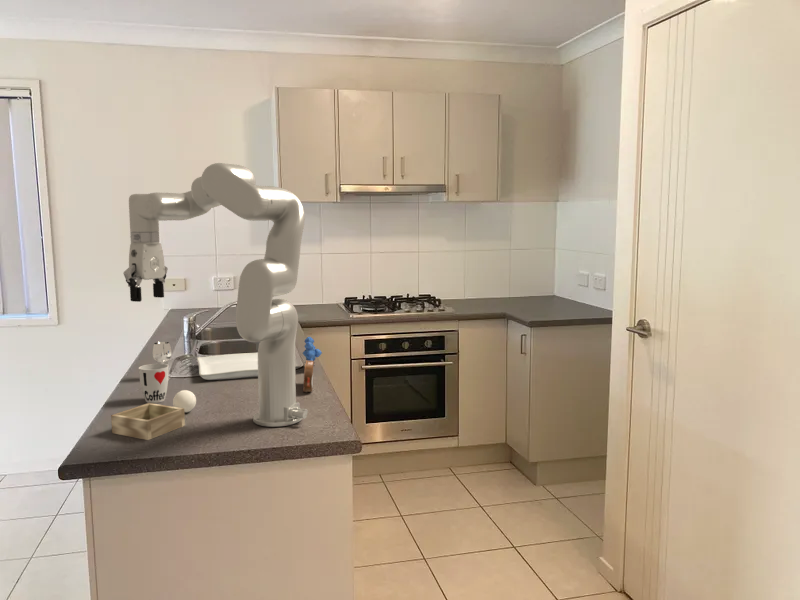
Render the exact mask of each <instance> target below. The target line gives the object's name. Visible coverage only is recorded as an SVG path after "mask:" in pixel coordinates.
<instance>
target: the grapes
mask: <svg viewBox="0 0 800 600" xmlns="http://www.w3.org/2000/svg"><path fill="white" fill-rule="evenodd" d="M304 343H305V344H304V346H303V347H304V349H305V350H304V351H303V352H302V354H303V356H304V357H305V362H304V364H305V363H306V360H308V361H314V367H315V363H316V362H315V360H316V358H319V357H321V355H322V354H323V352H322V351H321V349H319V348H316V346H315V345H314V343H315V340H314V338H312V336H308V337H306V338H305V339H304Z"/></svg>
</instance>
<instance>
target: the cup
mask: <svg viewBox="0 0 800 600" xmlns="http://www.w3.org/2000/svg"><path fill="white" fill-rule="evenodd" d="M169 367H170V365H169V364H167V363H164V364H162V363H152V364H151V363H150V364H143V365H141V366H139V367H138V376H139V383H140V389H141V392H142V395H143V397H144V400H145V402H146V404H147V403H153V404H157V403H161V402H164V401H165V400H166V397H167V391H168V385H169V380H168V377H169V373H170V372H169Z"/></svg>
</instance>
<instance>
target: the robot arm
mask: <svg viewBox="0 0 800 600" xmlns="http://www.w3.org/2000/svg"><path fill="white" fill-rule="evenodd" d="M190 186H191V190H189V191H186V192H181V193H179V192H178V193H176V192H150V193H133V194H130V195H129V197H128V209H129V211H128V212H129V215H128V216H129V230H130V231H129V232H130V233H129V234H130V235H129V238H130V244H129V252H128V253H129V255H128V268H127V269H126V270H124V271H123V276H124V278H125V283H127V287H129V293H130V294H129V296H130V301H131V302H137V303H138V302H140V303H141V302H142V299H143V298H142V286H140V285H141V283H142V281H143V280H144V281H146V280H147V281H148V280H153V282H154V283H152V291H153V292H152V293H153V297H154V298H165V287H164V284H165V282H166V281H165V279H166V278H167V273H168V267H167V266H166V265H165V256H164V249H163V247H162V244H161V242H160V222H159V221H162V222H163V221H186V220H189V219H194V218H197V217H201V216H203V215H205V214H207V213H209V212H210V211H211V209H213V208H216V207H219V206H223V207H224V208H225V209H227V210H229V211H230V212H232V213H233V214H234V215H236V216H238V217H239V218H241V219H243V220H247V221H251V222H252V221H253V222H254V221H255V222H256V221H258V222H259V221H264V222H265V221H272V223H273V225H272V227H271V228H270V231H269V232H268V235H267V238H266V244H265V253H264V257H263V258H259V259H254V260H252V261H249V262H248V263H247V264H246V265H245V266H244V268H243V270H242V272H240V276H239V282H238V289H237V299H236V311H235V326H236V330H237V332H238V334H239V336H240V337H241V338H242V339H243V340H244V341H246V342H248V343H258V342H259V343H258V349H257V353H258V377H257V384H258V388H257V389H258V391H257V392H258V412H257V413H254V415H253V417H252V418H253V419H252V420H253V423H254V424H256V425H258V426H262V427H267V428H268V427H269V428H271V427H272V428H275V427H278V428H279V427H285V426H292V425H295V424H297V423H299V422H300V421H302V420H304V419H306V418H307V417H308V412H309V410H308V409H307V408H301V407H300V402H299V401H297V392H296V391H297V389H296V387H297V385H296V339H297V338H296V337H297V332H298V331H297V330H298V325H299V315H298V311H297V309H296V307H295V306H294V304H292V302H290V301H288V300H287V299H282V298H274V297H279V296H284V295H287V294H289V293H291V292H293V291H294V289H295V288H296V286H297V283H298V277H299V274H298V273H299V268H300V267H299V265H300V257H301V256H300V255H301V248H302V247H301V246H302V245H301V244H302V238H303V233H304V230H305V229H304V227H305V219H306V215H305V209H304V206H303V204H302V202H301V200H300V199H299V197H298V196H297V195H296V194H294V193H293V192H292V191H290V190H288V189H286V188H283V187H279V186H270V185H256V177H255V175H254V173H253V172H252V171H251V170H250V169H249V168H247V167H246V166H244V165H240V164H234V163H223V162H216V163H215V162H214V163H212V164H210V165H208V166H207V167H205V168H204V171H202V174H201V176H198V177H197V178H195V179H194V180H193V182H192V183H191V185H190Z"/></svg>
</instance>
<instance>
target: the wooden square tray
mask: <svg viewBox="0 0 800 600" xmlns="http://www.w3.org/2000/svg"><path fill="white" fill-rule="evenodd" d="M185 416H186V414H185V413H184V408H178V407H174V406H170V405H164V404H160V403H159V404H157V403H147V402H146V403H145V404H141V405H138V406H136V407H133V408H129V409H126V410H123V411H120V412H117V413H114V414H110V417H111V418H110V420H111V421H110V422H111V434H116V435H120V436H124V437H125V436H126V437H131V438H135V439H141V440H146V441H150V440H152V439H155V438H157V437H160V436H162V435H164V434H167V433H169V432H172V431H176V430H177V429H181V428H183V427H185V426H186V421H185V420H186V419H185V418H186V417H185Z"/></svg>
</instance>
